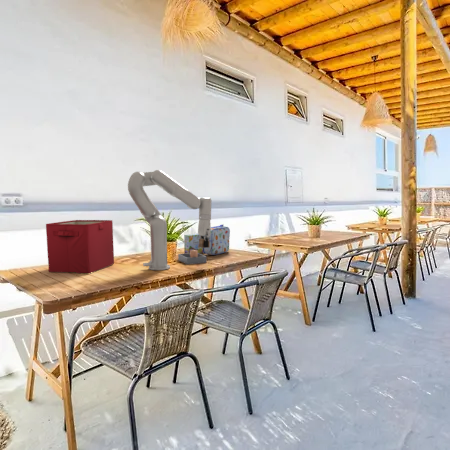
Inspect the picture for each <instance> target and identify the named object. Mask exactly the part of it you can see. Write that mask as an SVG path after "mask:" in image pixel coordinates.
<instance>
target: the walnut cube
mask: <svg viewBox="0 0 450 450" xmlns="http://www.w3.org/2000/svg"><path fill="white" fill-rule="evenodd" d="M203 244H204V239H199V247H201V248H209V247H210V240H209V247H203Z"/></svg>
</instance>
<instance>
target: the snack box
mask: <svg viewBox="0 0 450 450" xmlns="http://www.w3.org/2000/svg"><path fill="white" fill-rule="evenodd" d="M199 239H200V235H198V232H197V233H190V234H189V233H188V234H184V239H183V240H184V241H183V242H184V243H183V244H184V247H183V248H184V249H183V254H185V253H190V250H198V253H199V254H202V253H203V248H201V247H199ZM203 254H204V253H203Z"/></svg>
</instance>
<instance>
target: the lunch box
mask: <svg viewBox="0 0 450 450" xmlns="http://www.w3.org/2000/svg"><path fill="white" fill-rule="evenodd" d="M230 232H231V230H230V227H228V226H224V224H219V225H217V226H211V233H210V237H209V240H210V247H209V248H203V255H209V256H215V255H216V256H217V255H220V254H224V253H228V252H229V250H230V238H231V237H230V236H231V234H230ZM205 236H207V235H205ZM205 238H206V237H205Z"/></svg>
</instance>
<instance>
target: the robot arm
mask: <svg viewBox="0 0 450 450" xmlns="http://www.w3.org/2000/svg"><path fill="white" fill-rule="evenodd" d="M151 186H157V187H158V188H160V189H162V190H163V191H165V192H166V193H167V194H168V195H170V196H172V197H174V198H176V199H177V200H179V201H181V202H182V203H184V204H185V205H186V206H187V207H188V208H189V209H190V210H197V209H198V224H197V225H198V227H197V233H198V235H200V239H204V244H203V247H209V237H210V233H211V227H212V226H211V220H212V198H211V197H198V196H197V195H195V194H194V193H192V191H189V190H188V189H187V188H185V187H184V186H183V185H181V184H180V183H179V182H177V181H176V180H175V179H173V178H172V177H170V176H169V175H168V174H166V173H165V172H164V171H162V170H160V169H156V170H153V171H148V172H147V171H146V172H145V171H144V172H141V171H135V172H133V173H132V174H131V175H130V177H129V178H128V183H127V190H128V194H129V195H130V197H131V200H132V201H133V202H134V204H135V206H136V207H137V208H138V210H139V212H140V214H141V215H142V216H143V218H144V219H145V220H146V221H147V223H148V225H149V228H150V229H149V230H150V260H149V262H143V263H142V264H143V267H148V270H152V271H164V270H168V269H170V268H171V265H169V264H168V242H167V240H168V238H167V237H168V235H167V234H168V233H167V231H168V229H167V228H168V224H167V220H166V219H165V218H164V217H163V215H162V213H160V211H159V209H158V208H157V207H156V205H155V203H154V202H153V200H151V198H150V197H149V195H148V194H147V192H146V191H145V189H144V187H151ZM205 235H207V236H205ZM205 237H206V238H205Z"/></svg>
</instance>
